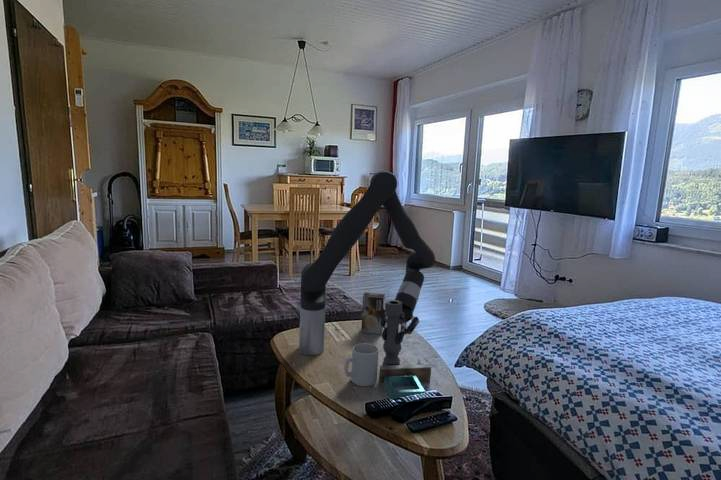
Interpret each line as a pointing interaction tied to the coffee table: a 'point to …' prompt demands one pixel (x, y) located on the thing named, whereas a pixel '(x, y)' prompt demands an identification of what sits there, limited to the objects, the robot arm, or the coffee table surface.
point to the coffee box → (372, 313)
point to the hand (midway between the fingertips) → (390, 341)
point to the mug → (363, 364)
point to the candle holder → (392, 332)
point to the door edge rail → (407, 371)
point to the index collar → (400, 381)
